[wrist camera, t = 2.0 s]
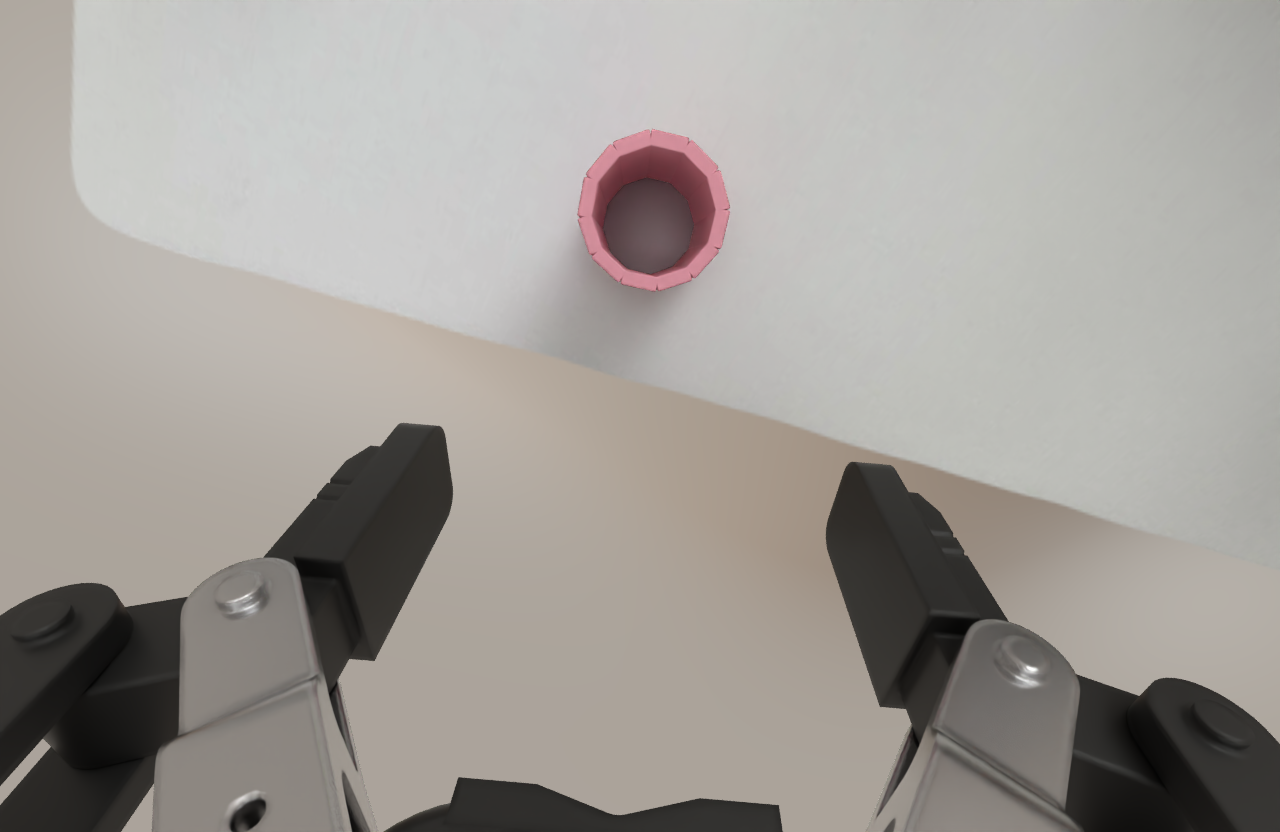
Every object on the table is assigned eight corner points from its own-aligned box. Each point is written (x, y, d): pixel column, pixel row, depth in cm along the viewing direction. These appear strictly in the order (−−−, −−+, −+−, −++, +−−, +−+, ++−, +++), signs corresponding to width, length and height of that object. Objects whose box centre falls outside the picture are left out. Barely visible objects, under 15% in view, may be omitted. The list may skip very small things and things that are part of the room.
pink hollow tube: (605, 155, 29) (594, 114, 21) (715, 181, 29) (745, 151, 21) (584, 270, 30) (567, 272, 22) (689, 293, 30) (707, 303, 23)
